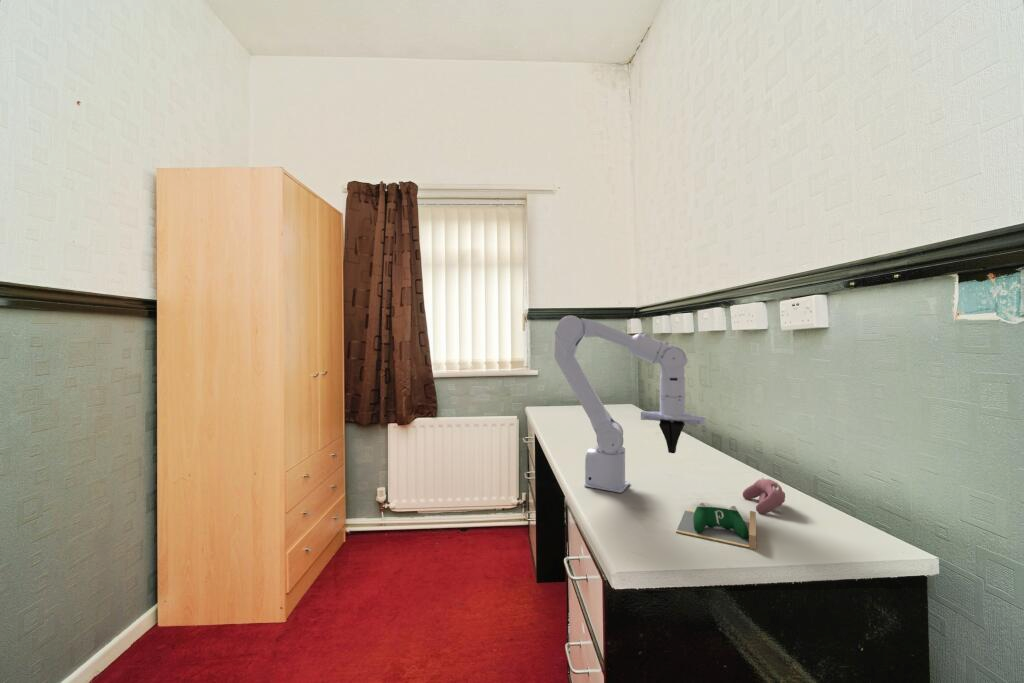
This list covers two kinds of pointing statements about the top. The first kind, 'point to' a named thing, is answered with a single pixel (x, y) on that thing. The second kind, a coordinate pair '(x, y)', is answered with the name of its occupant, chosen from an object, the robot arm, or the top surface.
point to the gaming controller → (719, 519)
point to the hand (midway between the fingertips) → (672, 452)
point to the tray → (719, 531)
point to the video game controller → (765, 495)
